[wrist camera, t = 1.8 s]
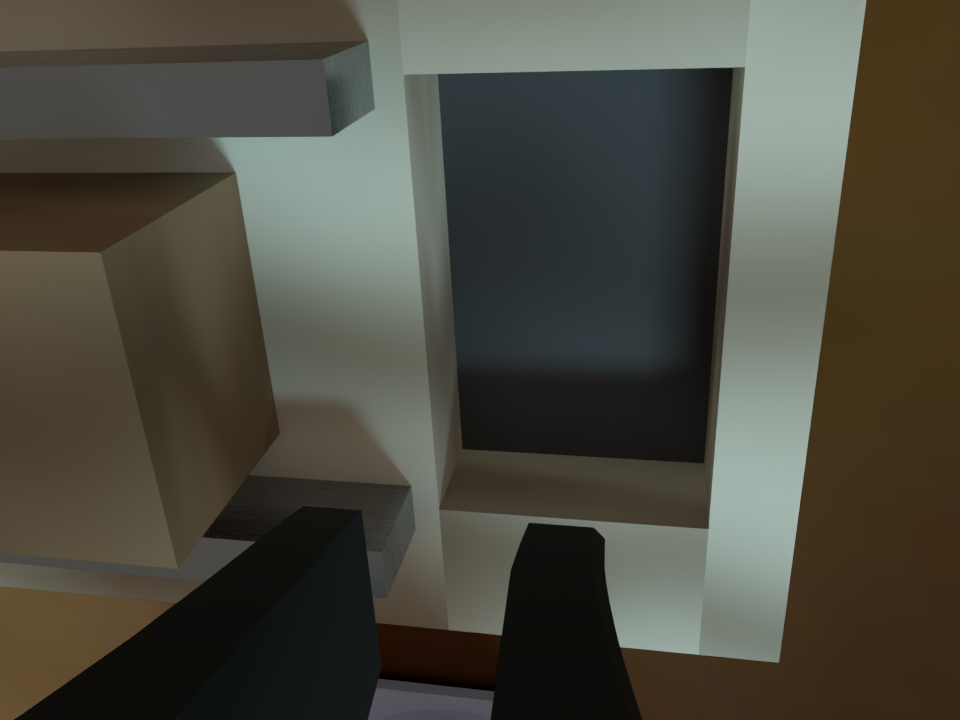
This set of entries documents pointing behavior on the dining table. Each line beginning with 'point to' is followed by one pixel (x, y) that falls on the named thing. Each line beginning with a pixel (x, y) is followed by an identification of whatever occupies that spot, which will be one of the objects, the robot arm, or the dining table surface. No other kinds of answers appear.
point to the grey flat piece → (531, 283)
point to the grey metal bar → (214, 114)
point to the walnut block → (126, 363)
